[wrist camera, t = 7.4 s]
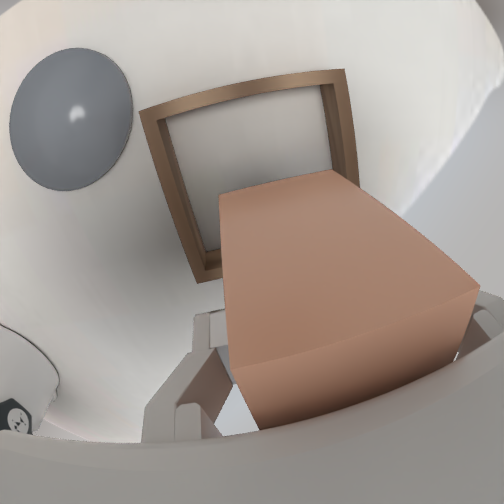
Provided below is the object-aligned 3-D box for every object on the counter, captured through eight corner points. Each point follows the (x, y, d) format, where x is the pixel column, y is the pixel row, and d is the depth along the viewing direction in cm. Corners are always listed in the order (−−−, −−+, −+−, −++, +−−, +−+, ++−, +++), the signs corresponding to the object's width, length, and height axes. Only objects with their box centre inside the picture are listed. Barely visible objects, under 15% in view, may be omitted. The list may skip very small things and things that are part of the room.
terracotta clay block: (218, 194, 11) (230, 369, 4) (331, 169, 11) (480, 285, 4) (258, 334, 15) (288, 483, 8) (342, 311, 15) (408, 443, 8)
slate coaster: (38, 205, 21) (34, 209, 21) (3, 90, 15) (-2, 91, 15) (150, 161, 21) (148, 163, 20) (114, 25, 15) (111, 23, 14)
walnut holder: (198, 264, 26) (197, 283, 24) (148, 109, 19) (138, 111, 16) (348, 227, 26) (362, 243, 23) (329, 71, 19) (344, 68, 16)
